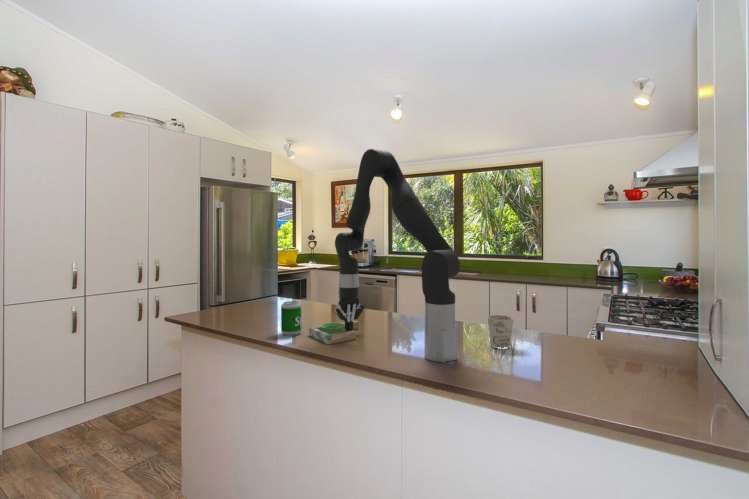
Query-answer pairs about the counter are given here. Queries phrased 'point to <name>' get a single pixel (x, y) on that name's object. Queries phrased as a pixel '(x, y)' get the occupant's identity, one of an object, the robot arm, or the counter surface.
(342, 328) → the ramekin
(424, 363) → the counter surface
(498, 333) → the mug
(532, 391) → the counter surface
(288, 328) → the soda can
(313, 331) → the rail pocket
